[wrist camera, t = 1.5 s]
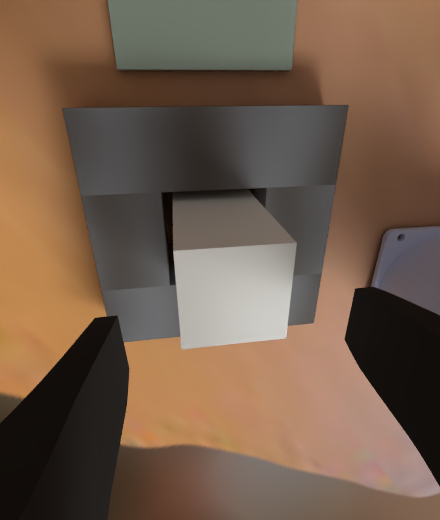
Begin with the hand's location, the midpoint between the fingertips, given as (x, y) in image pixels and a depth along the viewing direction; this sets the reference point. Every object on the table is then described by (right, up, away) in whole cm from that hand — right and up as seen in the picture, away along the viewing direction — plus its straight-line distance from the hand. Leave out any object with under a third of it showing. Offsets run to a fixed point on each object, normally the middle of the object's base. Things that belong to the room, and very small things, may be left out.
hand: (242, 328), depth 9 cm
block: (-1, +4, +8) cm, 10 cm away
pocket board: (-1, +4, +8) cm, 10 cm away
